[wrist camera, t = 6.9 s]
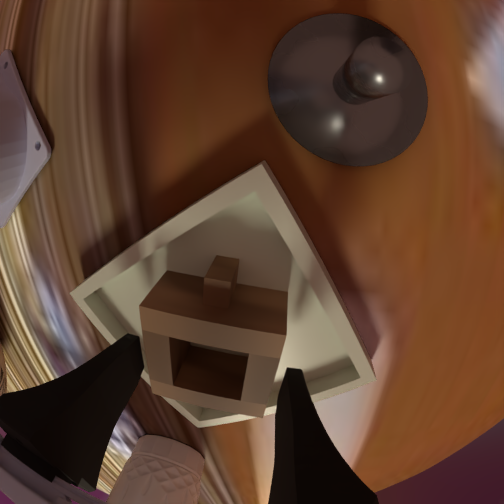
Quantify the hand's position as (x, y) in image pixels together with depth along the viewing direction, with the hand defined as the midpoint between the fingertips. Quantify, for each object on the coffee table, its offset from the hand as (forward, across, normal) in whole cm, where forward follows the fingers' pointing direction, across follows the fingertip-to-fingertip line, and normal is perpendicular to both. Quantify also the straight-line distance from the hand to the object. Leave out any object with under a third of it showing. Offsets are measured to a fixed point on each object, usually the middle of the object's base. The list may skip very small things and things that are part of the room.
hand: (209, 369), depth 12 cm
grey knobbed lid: (+3, -4, -12) cm, 13 cm away
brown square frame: (+3, 0, 0) cm, 3 cm away
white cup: (+3, +4, +18) cm, 19 cm away
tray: (+3, 0, 0) cm, 3 cm away
